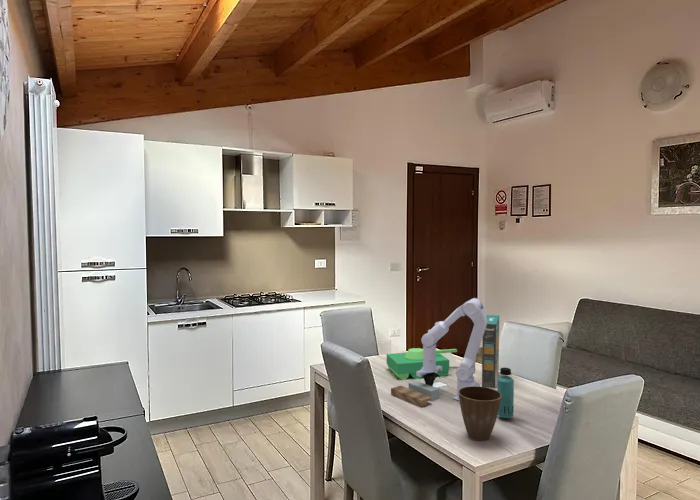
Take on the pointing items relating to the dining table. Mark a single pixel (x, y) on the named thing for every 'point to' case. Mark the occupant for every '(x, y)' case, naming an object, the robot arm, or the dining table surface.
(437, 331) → the robot arm
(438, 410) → the dining table surface
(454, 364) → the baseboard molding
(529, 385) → the dining table surface
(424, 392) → the tongue plank
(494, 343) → the cake mix box
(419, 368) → the toy tank
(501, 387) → the beverage bottle
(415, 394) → the grooved board
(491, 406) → the plant pot
